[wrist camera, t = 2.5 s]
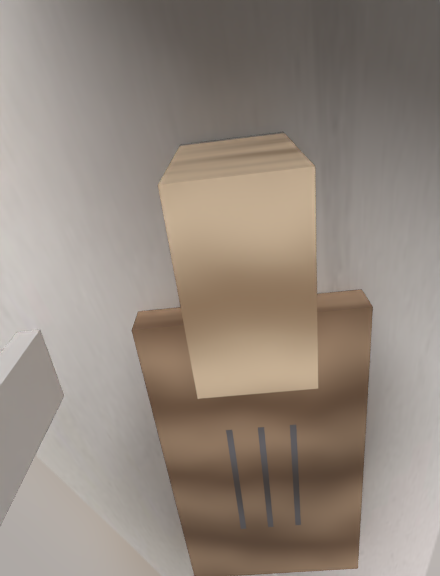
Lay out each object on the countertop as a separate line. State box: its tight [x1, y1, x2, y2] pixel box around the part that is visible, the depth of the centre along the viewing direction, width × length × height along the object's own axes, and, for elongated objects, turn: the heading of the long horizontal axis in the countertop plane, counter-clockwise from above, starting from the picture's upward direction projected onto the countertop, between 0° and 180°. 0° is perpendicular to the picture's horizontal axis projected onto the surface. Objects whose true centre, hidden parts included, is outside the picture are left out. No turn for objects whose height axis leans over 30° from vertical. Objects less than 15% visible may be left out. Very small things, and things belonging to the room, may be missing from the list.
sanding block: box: [158, 132, 318, 399], centre depth 19 cm, size 9×5×8 cm, turn 7°
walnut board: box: [132, 289, 373, 576], centre depth 29 cm, size 24×13×2 cm, turn 7°
